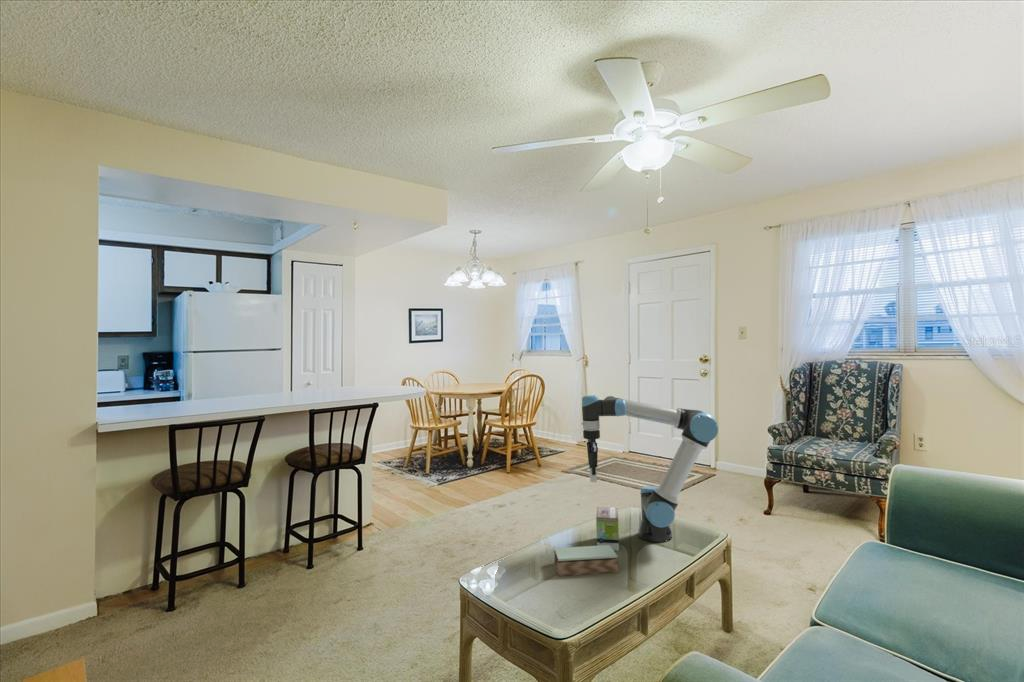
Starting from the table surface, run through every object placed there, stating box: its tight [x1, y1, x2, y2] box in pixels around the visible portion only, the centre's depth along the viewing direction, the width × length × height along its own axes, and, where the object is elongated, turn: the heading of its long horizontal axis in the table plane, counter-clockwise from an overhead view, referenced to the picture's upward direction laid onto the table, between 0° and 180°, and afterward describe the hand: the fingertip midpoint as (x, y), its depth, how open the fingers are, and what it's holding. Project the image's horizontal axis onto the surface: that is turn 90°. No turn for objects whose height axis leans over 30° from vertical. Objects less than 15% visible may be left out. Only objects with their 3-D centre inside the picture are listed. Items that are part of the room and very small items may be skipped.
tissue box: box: [553, 550, 619, 577], centre depth 196 cm, size 24×12×5 cm, turn 93°
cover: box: [554, 545, 618, 561], centre depth 196 cm, size 24×12×1 cm, turn 93°
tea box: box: [595, 506, 620, 552], centre depth 219 cm, size 15×10×15 cm
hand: (593, 481), depth 217 cm, fingers closed
